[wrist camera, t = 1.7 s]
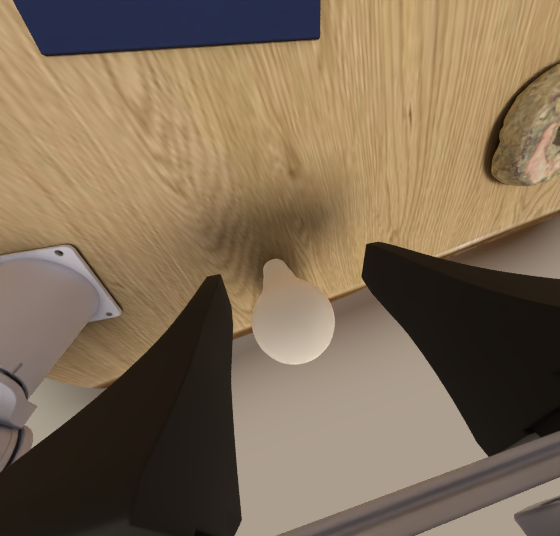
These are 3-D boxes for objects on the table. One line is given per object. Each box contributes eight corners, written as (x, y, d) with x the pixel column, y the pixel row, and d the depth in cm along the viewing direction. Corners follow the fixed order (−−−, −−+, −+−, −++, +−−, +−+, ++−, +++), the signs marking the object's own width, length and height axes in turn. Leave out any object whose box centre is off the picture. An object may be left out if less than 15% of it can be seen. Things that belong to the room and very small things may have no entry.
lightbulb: (237, 282, 22) (244, 383, 13) (254, 232, 19) (278, 314, 10) (288, 291, 24) (324, 383, 15) (309, 247, 21) (369, 326, 12)
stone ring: (558, 164, 22) (614, 37, 17) (606, 168, 19) (694, 16, 14) (470, 196, 23) (497, 82, 17) (504, 205, 20) (550, 70, 14)
